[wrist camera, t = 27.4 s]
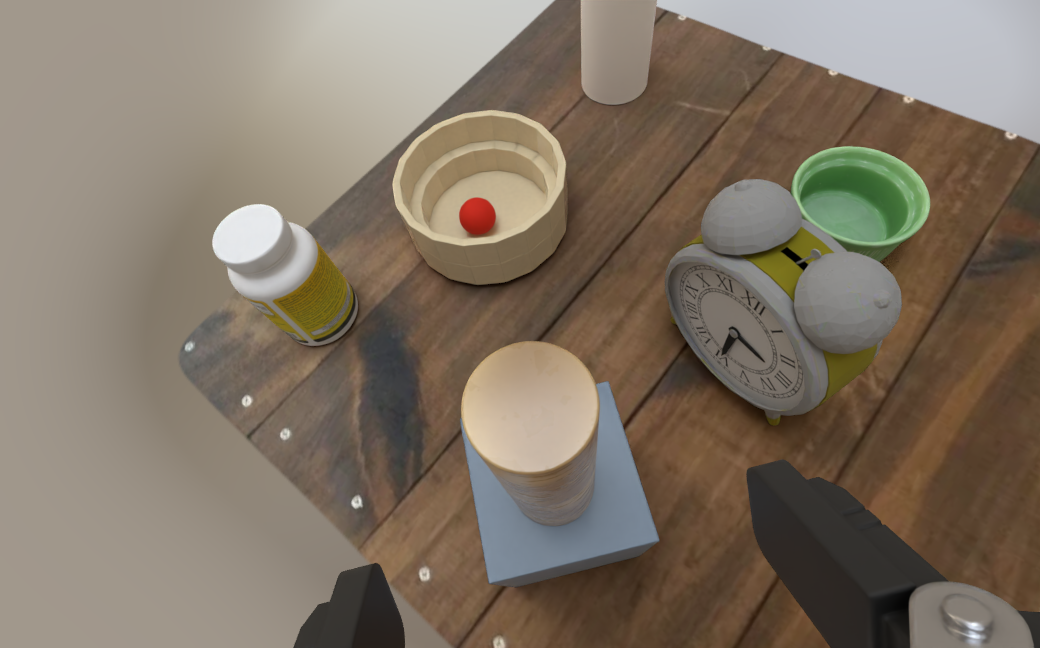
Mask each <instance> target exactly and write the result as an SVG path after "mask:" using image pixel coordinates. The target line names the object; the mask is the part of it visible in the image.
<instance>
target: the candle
mask: <svg viewBox="0 0 1040 648" xmlns="http://www.w3.org/2000/svg"><path fill="white" fill-rule="evenodd" d="M656 4H657V0H581V80H582V88H583V91H584V92H585V94H586V95H587V96H588V97H589V98H591V99H592V100H594V101H596V102H598V103H602V104H607V105H618V104H624V103H627V102H630V101H632V100H634V99H636V98H637V97H639V96H640V95H641V94H642V93H643V92H644V90H645V88H646V86H647V80H648V71H649V63H650V55H651V46H652V38H653V29H654V21H655V13H656Z"/></svg>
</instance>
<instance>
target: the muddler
mask: <svg viewBox="0 0 1040 648" xmlns="http://www.w3.org/2000/svg"><path fill="white" fill-rule="evenodd" d="M599 414H600V399H599V393H598V389H597V386H596V383H595V381H594V379H593V377H592V375H591V373H590V372H589V370H588V369H587V367H586V366H585V365H584V364H583V363H582V362H581V360H579V359H578V358H577V357H576V356H575V355H573V354H572V353H570V352H569V351H567V350H565V349H563V348H561V347H559V346H556V345H553V344H550V343H545V342H538V341H526V342H519V343H514V344H511V345H508V346H505V347H503V348H501V349H499V350H497V351H495V352H494V353H492V354H491V355H489V356H488V357H487V358H485V359H484V360H483V361H482V362H481V363H480V364H479V365H478V367H477V368H476V369H475V370H474V372H473V373H472V375H471V376H470V378H469V380H468V382H467V384H466V387H465V390H464V393H463V397H462V404H461V416H462V423H463V427H464V430H465V433H466V436H467V438H468V440H469V442H470V443H471V445H472V446H473V448H474V449H475V450H476V452H477V453H478V454H479V456H480V457H481V458H482V460H483V461H484V462H485V464H486V465H487V466H488V468H489V469H490V470H491V472H492V473H493V474H494V476H495V477H496V478H497V480H498V481H499V482H500V484H501V485H502V486H503V488H504V489H505V490H506V492H507V493H508V494H509V496H510V497H511V498H512V499H513V501H514V502H515V503H516V505H517V506H518V507H519V509H520V510H521V511H522V512H523V513H524V515H525V516H527V517H528V518H529V519H531V520H532V521H534V522H536V523H539V524H542V525H545V526H560V525H565V524H568V523H570V522H572V521H574V520H575V519H577V518H578V517H579V516H581V515H582V514H583V512H584V511H585V510H586V509H587V507H588V506H589V504H590V502H591V499H592V496H593V492H594V482H595V468H596V455H597V441H598V427H599Z"/></svg>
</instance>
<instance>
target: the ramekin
mask: <svg viewBox="0 0 1040 648" xmlns="http://www.w3.org/2000/svg"><path fill="white" fill-rule="evenodd" d="M791 195H792V196H793V197H794V199H795V200H796V201H797V204H798V206H799V208H800V211H801V215H802V219H804V220H806V221H808V222H811V223H812V224H814V225H815V226H817V227H818V228H820V229H821V230H823V231H824V232H825V233H827V234H828V235H830V236H831V237H832V238H833V239H834V240H835V241H837V242H838V243H839V244H840V245H841V246H842V247H843V248H844V249H846V251H847V252H854V253H859V254H862V255H864V256H868V257H870V258H872V259H874V260H876V261H878V262H880V261H881V260H883V259H884V258H885V257H886V256H888V255H889V254H890V253H891V252H892V251H893V250H894V249H895V248H896V247H897V246H898V245H899V244H901V243H902V242H904V241H905V240H907V239H909V238H910V237H911V236H913V235H914V234H915V233H916V232H917V231H918V230H919V229H920V228H921V227H922V225H923V224H924V223H925V221H926V219H927V217H928V214H929V210H930V197H929V193H928V190H927V188H926V186H925V184H924V182H923V181H922V179H921V178H920V177H919V175H918V174H917V173H916V172H915V171H914V170H913V169H912V168H910V167H909V166H908V165H907V164H905V163H904V162H902V161H901V160H899V159H897V158H895V157H893V156H891V155H889V154H886V153H884V152H881V151H878V150H874V149H869V148H863V147H836V148H831V149H827V150H824V151H821V152H819V153H817V154H815V155H813V156H811V157H810V158H808V159H807V160H806V161H805V162H804V163H803V164H802V165H801V166H800V167H799V168H798V170H797V171H796V173H795V175H794V178H793V181H792V186H791Z"/></svg>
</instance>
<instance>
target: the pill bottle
mask: <svg viewBox="0 0 1040 648" xmlns="http://www.w3.org/2000/svg"><path fill="white" fill-rule="evenodd" d="M212 244H213V250H214V252H215V254H216V256H217V257H218V258H219V259H220V260H221V261H222V262H223V263H224V264H225V265H226V266H227V267H228V275H229V278H230V281H231V283H232V285H233V286H234V288H235V289H236V290H237V291H238V292H239V293H240V294H241V295H242V296H243V297H244V298H246V299H247V300H248V301H249V302H250V303H251V304H253V305H254V306H255V307H256V308H257V309H258V310H259V311H261V312H262V313H263V314H264V315H265V316H266V317H267V318H268V319H270V320H271V321H272V322H273V323H274V324H275V325H277V326H278V327H279V328H280V329H281V330H283V331H284V332H285V333H286V334H287V335H288V336H290V337H291V338H292V339H293V340H295V341H297V342H299V343H301V344H304V345H309V346H319V345H324V344H328V343H330V342H333V341H335V340H337V339H338V338H340V337H341V336H342V335H343V334H344V333H345V332H346V331H347V330H348V329H349V328H350V327H351V325H352V323H353V322H354V320H355V317H356V315H357V311H358V300H357V296H356V293H355V291H354V290H353V288H352V286H351V285H350V284H349V282H348V281H347V280H346V279H345V277H344V276H343V275H342V274H341V272H340V271H339V270H338V268H337V267H336V266H335V265H334V263H333V262H332V261H331V259H330V258H329V257H328V256H327V254H326V253H325V252H324V250H323V249H322V248H321V246H320V245H319V244H318V242H317V241H316V240H315V239H314V237H313V236H312V235H311V234H310V233H309V232H308V231H307V230H306V229H304V228H303V227H301V226H299V225H297V224H294V223H290V222H287V221H286V219H284V217H283V216H282V215H281V214H280V213H279V212H278V211H277V210H276V209H275V208H273V207H271V206H268V205H263V204H255V205H249V206H245V207H243V208H240V209H238V210H236V211H234V212H232V213H231V214H230V215H228V216H227V217H226V218H225V219H224V220H223V221H222V222H221V223H220V225H219V226H218V227H217V229H216V231H215V233H214V236H213V242H212Z"/></svg>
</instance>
